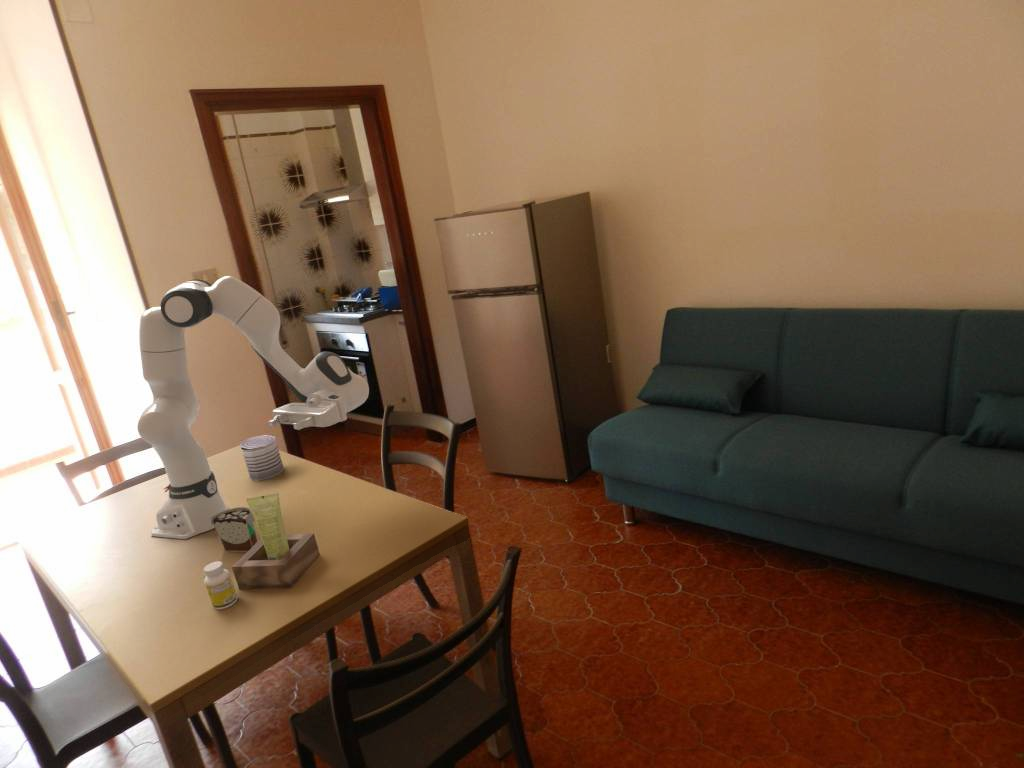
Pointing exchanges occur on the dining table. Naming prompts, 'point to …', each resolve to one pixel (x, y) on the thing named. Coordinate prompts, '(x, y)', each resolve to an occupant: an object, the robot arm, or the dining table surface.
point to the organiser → (276, 564)
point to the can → (262, 457)
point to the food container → (235, 529)
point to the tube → (270, 524)
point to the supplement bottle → (219, 586)
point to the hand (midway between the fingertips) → (282, 425)
